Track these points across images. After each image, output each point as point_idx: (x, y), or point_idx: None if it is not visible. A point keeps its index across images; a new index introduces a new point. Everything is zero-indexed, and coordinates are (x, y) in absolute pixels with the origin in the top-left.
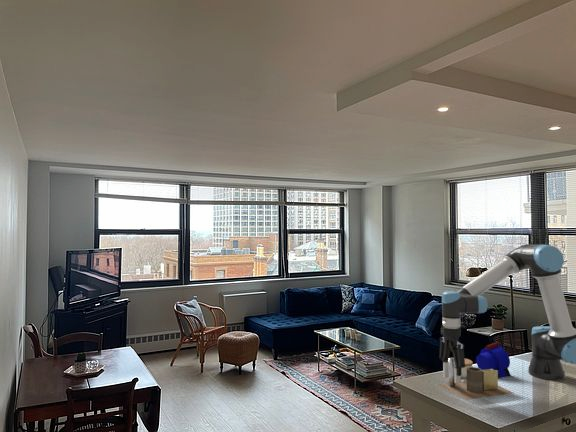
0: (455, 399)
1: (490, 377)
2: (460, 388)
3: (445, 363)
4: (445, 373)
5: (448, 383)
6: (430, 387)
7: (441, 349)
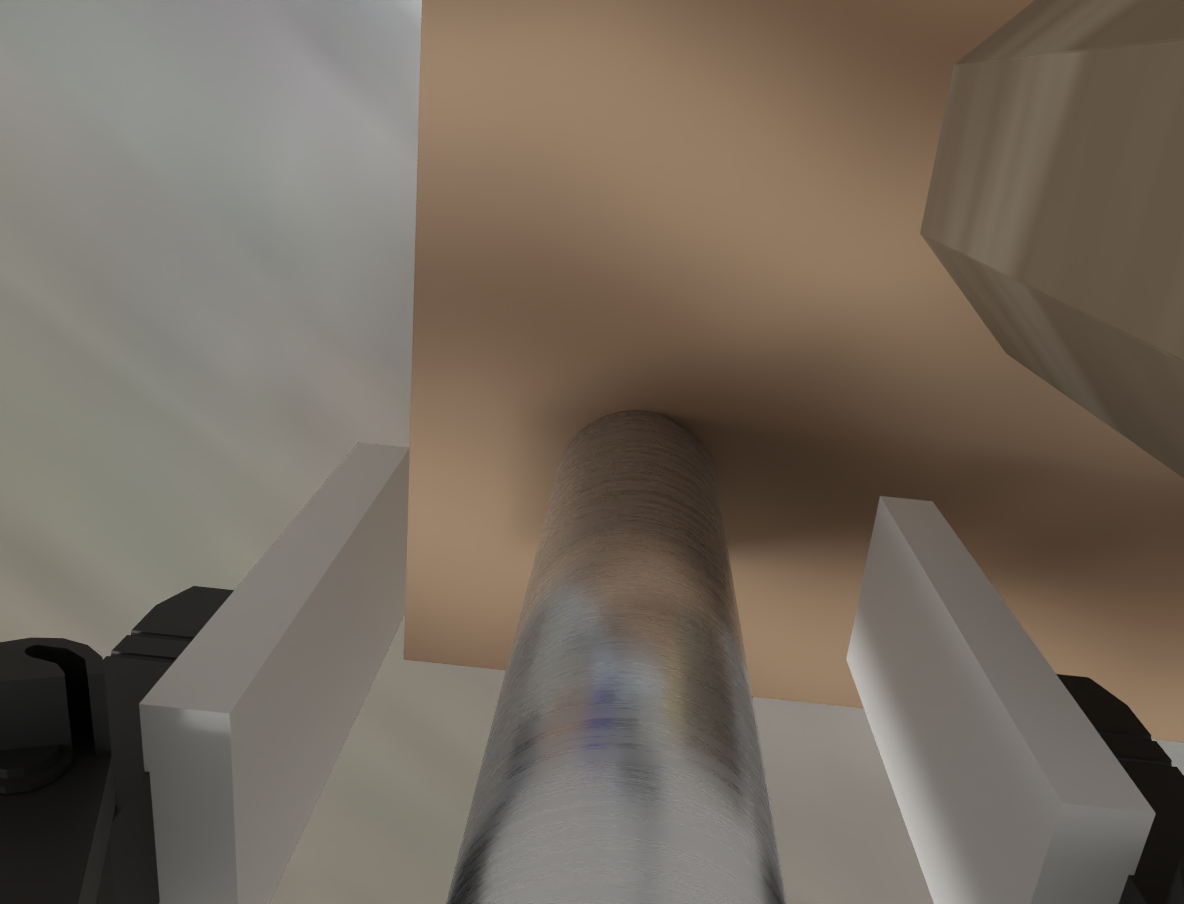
0: None
1: None
2: (837, 409)
3: (250, 882)
4: (375, 641)
5: (446, 431)
6: (392, 783)
7: None
